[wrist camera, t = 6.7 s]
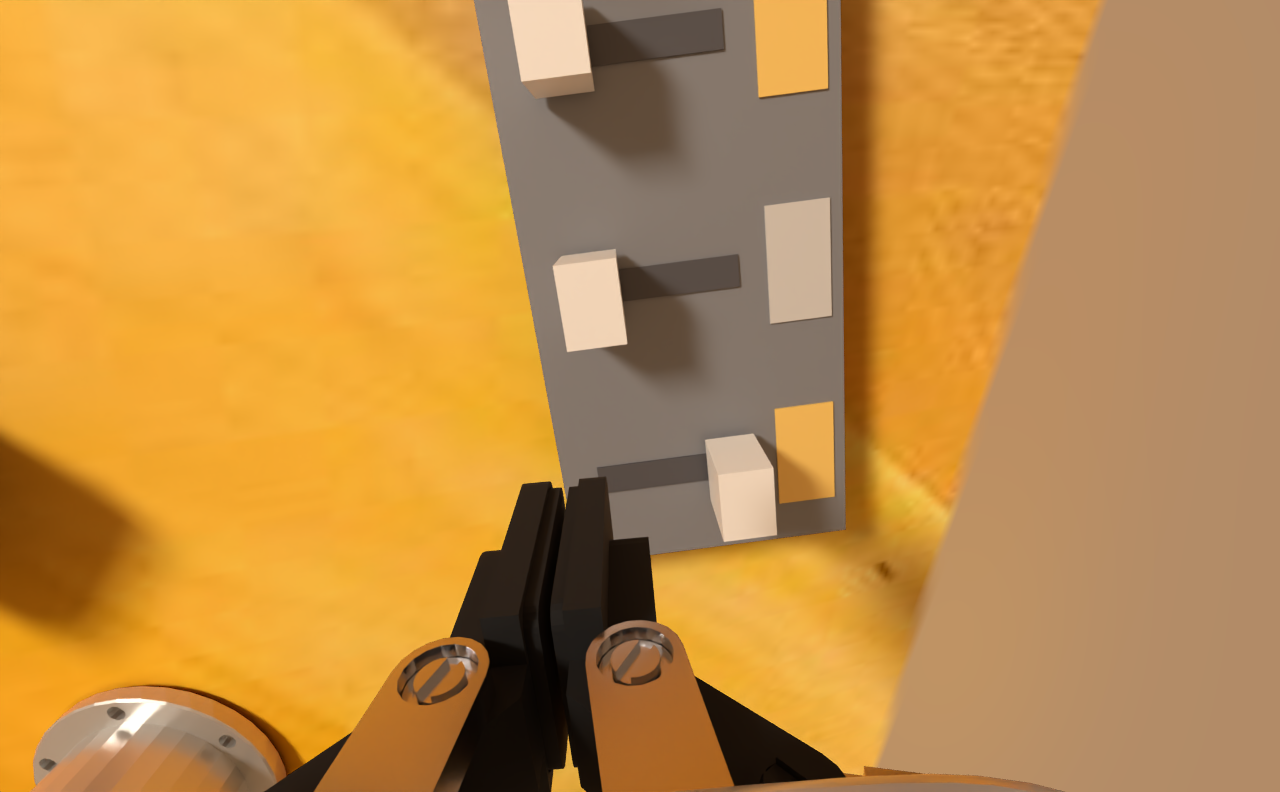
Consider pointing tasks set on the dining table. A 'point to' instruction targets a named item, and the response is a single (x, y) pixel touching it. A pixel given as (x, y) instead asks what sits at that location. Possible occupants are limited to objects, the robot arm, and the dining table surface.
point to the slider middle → (590, 300)
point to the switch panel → (690, 251)
